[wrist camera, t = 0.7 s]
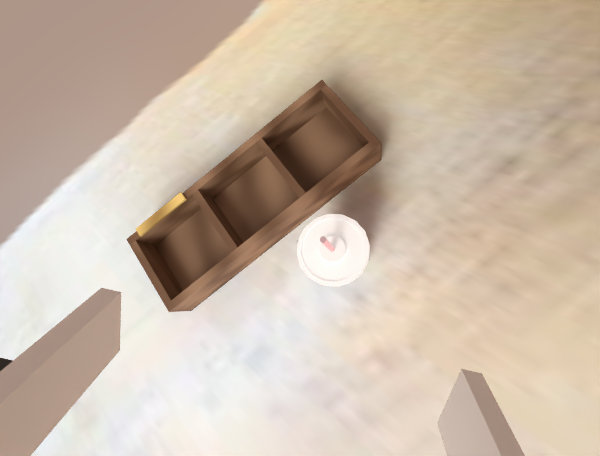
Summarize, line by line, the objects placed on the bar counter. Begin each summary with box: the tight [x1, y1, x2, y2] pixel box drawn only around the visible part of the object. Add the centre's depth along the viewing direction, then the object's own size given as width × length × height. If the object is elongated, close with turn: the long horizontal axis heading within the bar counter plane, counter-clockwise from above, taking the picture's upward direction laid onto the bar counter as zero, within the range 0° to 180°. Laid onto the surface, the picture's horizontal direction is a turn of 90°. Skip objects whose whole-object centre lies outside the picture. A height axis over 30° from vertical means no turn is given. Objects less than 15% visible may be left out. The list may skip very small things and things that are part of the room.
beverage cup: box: [297, 214, 370, 287], centre depth 32 cm, size 6×6×14 cm
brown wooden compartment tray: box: [127, 80, 381, 312], centre depth 40 cm, size 27×10×5 cm, turn 127°
